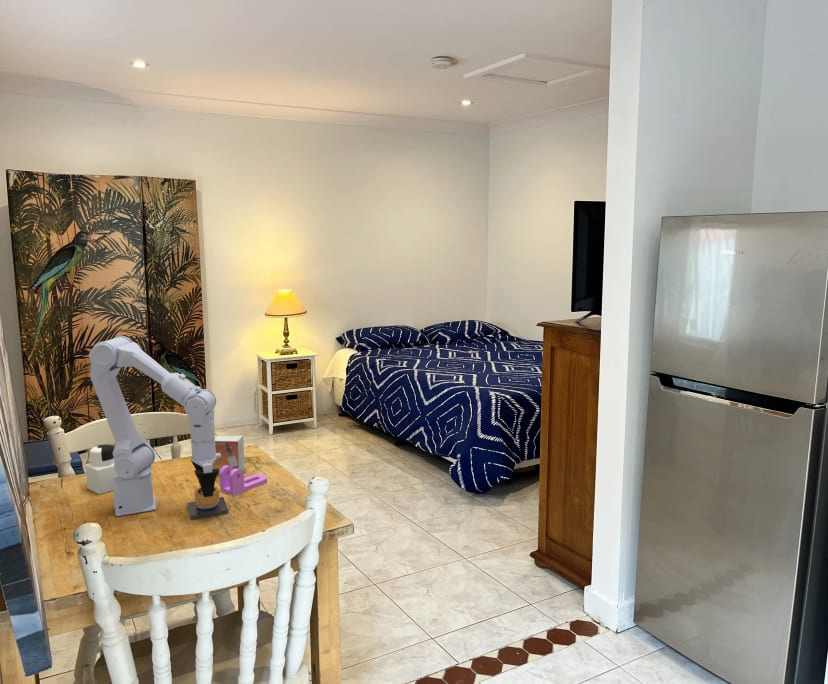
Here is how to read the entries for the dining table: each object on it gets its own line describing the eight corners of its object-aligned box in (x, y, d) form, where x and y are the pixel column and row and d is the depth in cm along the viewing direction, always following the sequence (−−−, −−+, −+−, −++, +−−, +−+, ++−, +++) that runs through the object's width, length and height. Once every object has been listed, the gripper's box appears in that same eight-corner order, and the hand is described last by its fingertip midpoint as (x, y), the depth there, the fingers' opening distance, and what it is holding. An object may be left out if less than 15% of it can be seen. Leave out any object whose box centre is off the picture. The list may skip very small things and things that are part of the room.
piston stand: (190, 519, 166) (189, 498, 165) (187, 506, 174) (186, 485, 173) (228, 513, 169) (227, 492, 168) (223, 500, 177) (222, 480, 176)
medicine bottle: (112, 481, 191) (108, 440, 189) (124, 487, 187) (121, 445, 185) (87, 489, 186) (82, 447, 184) (99, 495, 182) (95, 452, 180)
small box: (212, 475, 195) (210, 440, 193) (218, 468, 200) (216, 434, 199) (239, 476, 195) (237, 441, 193) (245, 469, 200) (243, 435, 198)
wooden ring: (196, 508, 167) (195, 496, 167) (194, 499, 173) (193, 488, 172) (220, 503, 170) (220, 492, 169) (217, 495, 175) (216, 484, 174)
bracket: (233, 496, 180) (232, 471, 179) (220, 491, 183) (218, 467, 182) (271, 481, 190) (269, 458, 189) (258, 477, 194) (256, 454, 192)
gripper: (223, 445, 163) (226, 498, 166) (215, 429, 176) (218, 478, 179) (193, 449, 160) (196, 503, 163) (187, 432, 174) (190, 482, 176)
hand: (206, 490), depth 171 cm, fingers open, 7 cm apart
